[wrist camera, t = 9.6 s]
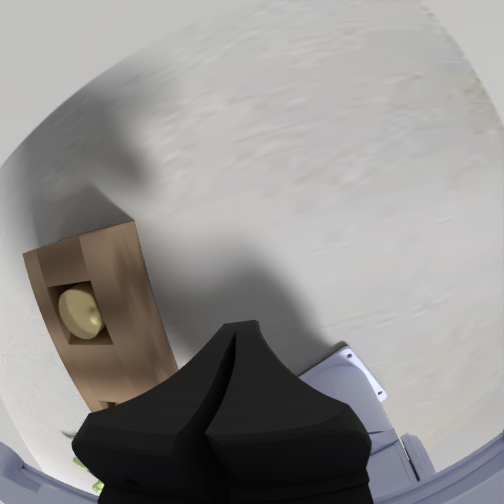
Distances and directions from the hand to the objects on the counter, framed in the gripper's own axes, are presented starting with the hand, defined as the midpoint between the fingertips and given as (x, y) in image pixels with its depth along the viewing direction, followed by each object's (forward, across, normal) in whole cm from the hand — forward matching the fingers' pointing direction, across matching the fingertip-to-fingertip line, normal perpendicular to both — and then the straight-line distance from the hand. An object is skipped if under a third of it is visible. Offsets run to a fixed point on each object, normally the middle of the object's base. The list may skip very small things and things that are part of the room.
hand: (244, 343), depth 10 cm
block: (+10, +13, +6) cm, 18 cm away
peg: (+10, +13, 0) cm, 17 cm away
